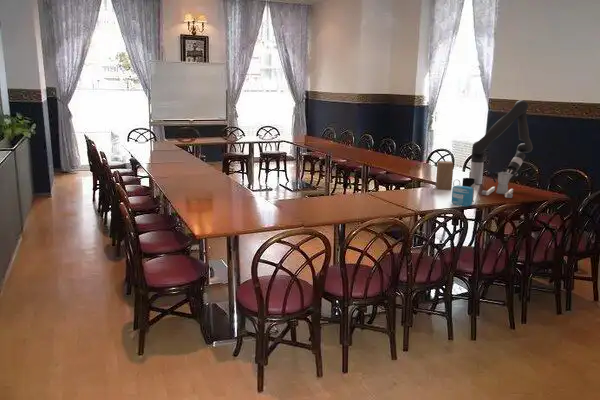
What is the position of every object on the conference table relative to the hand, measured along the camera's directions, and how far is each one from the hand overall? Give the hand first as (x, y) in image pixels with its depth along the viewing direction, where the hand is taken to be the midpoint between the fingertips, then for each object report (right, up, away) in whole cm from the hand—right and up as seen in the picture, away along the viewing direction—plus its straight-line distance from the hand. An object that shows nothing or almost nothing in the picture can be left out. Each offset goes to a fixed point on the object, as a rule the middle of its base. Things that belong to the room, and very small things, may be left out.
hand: (504, 182), depth 364 cm
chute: (-8, -9, -11) cm, 17 cm away
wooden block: (-44, -5, +5) cm, 45 cm away
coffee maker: (-7, -8, -9) cm, 14 cm away
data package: (-48, -17, -47) cm, 69 cm away
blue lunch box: (-42, -14, -34) cm, 56 cm away
